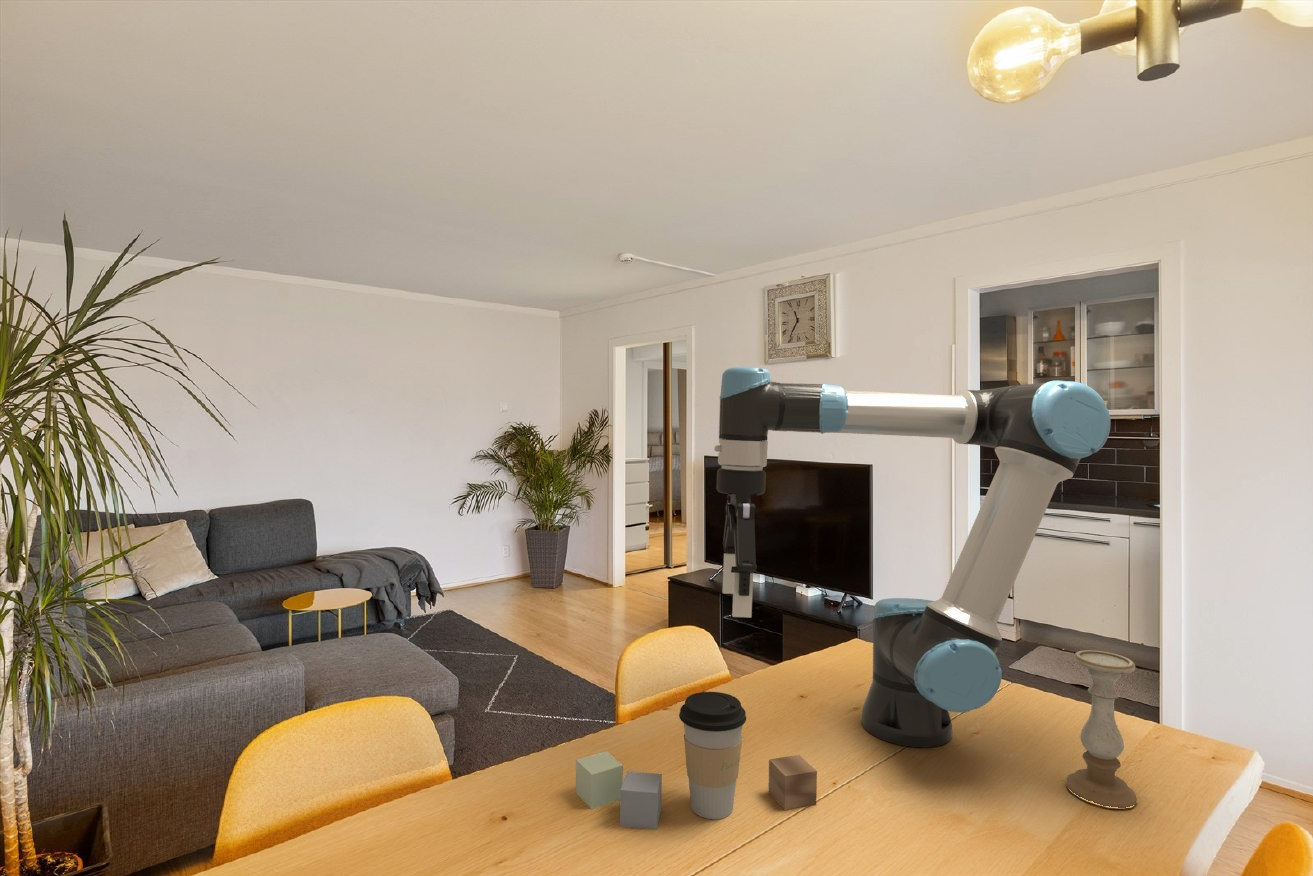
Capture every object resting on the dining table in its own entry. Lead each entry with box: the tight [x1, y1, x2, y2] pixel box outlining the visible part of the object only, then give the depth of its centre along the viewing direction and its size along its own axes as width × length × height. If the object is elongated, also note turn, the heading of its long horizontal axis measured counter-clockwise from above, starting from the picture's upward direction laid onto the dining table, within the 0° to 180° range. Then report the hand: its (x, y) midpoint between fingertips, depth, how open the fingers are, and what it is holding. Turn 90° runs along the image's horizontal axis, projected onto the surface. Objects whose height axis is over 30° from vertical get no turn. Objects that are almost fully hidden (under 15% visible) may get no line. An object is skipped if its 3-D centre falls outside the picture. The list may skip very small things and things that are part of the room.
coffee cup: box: [678, 691, 747, 820], centre depth 97 cm, size 9×9×15 cm
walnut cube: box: [768, 754, 818, 812], centre depth 99 cm, size 5×5×5 cm
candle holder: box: [1065, 649, 1138, 808], centre depth 101 cm, size 9×9×20 cm
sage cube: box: [575, 750, 624, 810], centre depth 100 cm, size 5×5×5 cm
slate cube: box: [619, 771, 663, 830], centre depth 94 cm, size 5×5×5 cm
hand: (735, 604), depth 107 cm, fingers open, 13 cm apart
